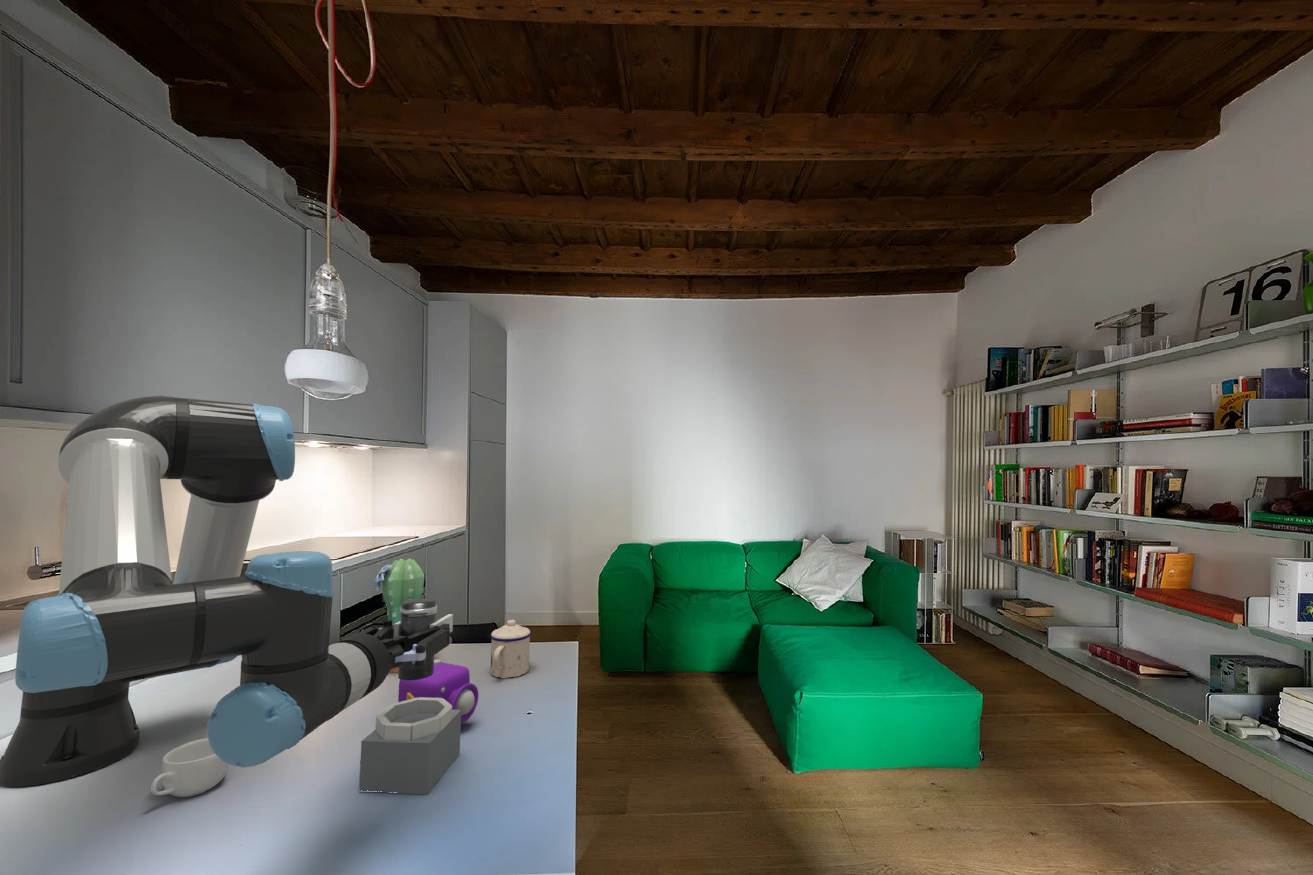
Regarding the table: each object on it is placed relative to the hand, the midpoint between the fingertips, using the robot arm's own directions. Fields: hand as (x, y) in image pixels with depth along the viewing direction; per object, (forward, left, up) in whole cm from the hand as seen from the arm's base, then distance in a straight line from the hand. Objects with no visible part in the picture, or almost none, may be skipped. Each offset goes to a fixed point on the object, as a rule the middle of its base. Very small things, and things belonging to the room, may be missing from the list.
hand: (433, 622), depth 88 cm
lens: (0, -5, -6) cm, 8 cm away
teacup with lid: (+1, +36, -21) cm, 42 cm away
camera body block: (0, -5, -21) cm, 22 cm away
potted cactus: (-26, +40, -21) cm, 52 cm away
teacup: (-29, -12, -21) cm, 38 cm away
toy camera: (-3, +11, -21) cm, 24 cm away
